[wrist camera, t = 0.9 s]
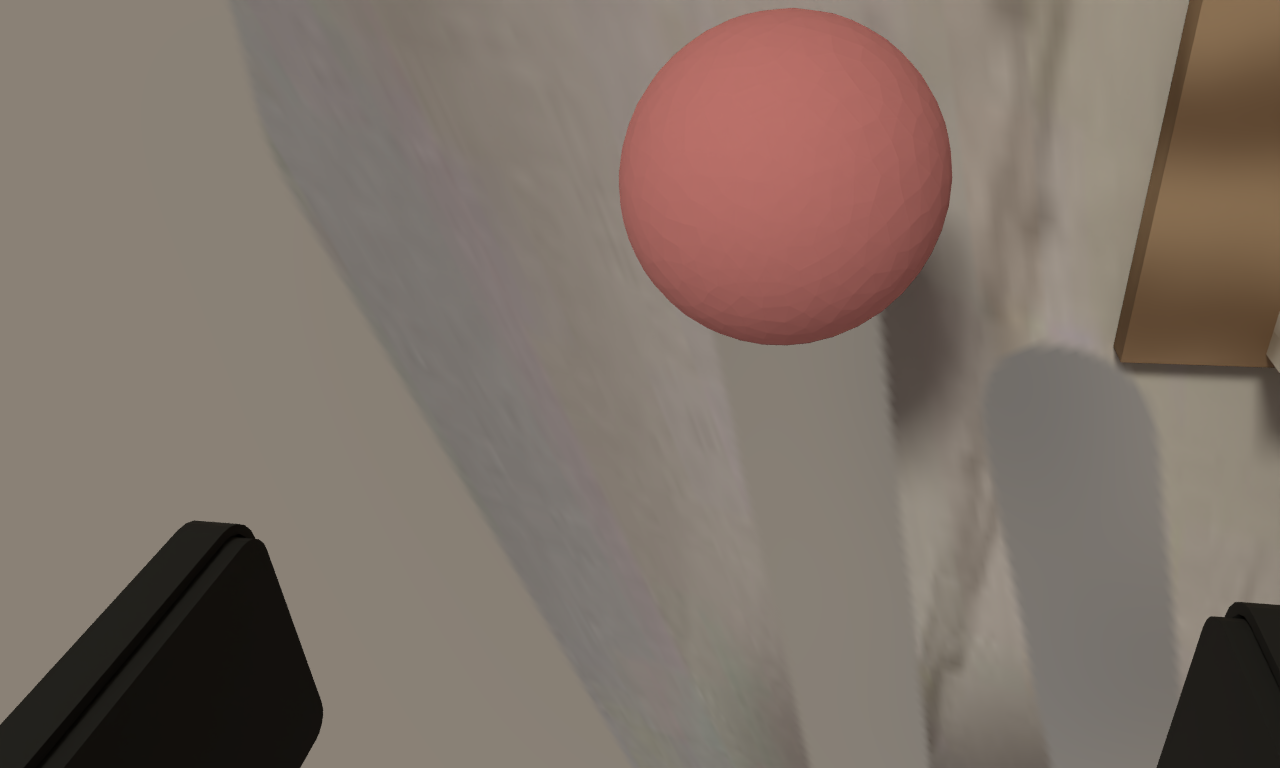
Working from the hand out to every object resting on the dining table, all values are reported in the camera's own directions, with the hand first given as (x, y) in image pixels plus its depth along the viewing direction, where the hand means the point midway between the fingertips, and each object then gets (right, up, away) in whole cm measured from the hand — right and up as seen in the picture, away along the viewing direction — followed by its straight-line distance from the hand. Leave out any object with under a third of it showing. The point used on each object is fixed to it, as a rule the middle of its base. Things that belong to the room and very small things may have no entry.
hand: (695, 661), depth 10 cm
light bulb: (+4, +12, +18) cm, 22 cm away
